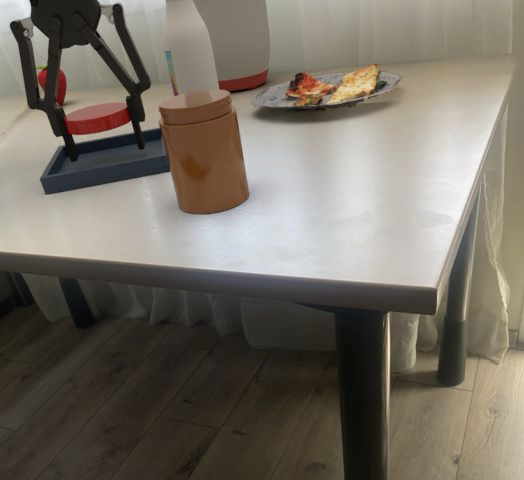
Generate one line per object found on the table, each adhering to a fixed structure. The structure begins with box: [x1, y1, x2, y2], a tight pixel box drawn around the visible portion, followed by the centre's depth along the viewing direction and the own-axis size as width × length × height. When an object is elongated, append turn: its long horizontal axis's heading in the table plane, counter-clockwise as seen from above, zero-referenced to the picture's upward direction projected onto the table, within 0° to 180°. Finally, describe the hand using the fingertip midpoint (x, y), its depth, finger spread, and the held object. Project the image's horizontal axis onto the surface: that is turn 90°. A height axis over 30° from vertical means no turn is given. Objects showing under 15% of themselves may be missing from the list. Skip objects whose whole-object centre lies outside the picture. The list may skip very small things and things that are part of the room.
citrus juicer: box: [193, 0, 271, 92], centre depth 103 cm, size 16×17×20 cm
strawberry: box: [36, 55, 68, 106], centre depth 116 cm, size 6×8×10 cm
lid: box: [63, 101, 131, 136], centre depth 72 cm, size 9×9×2 cm
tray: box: [39, 127, 170, 195], centre depth 75 cm, size 17×16×2 cm
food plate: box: [250, 63, 404, 113], centre depth 87 cm, size 25×23×4 cm
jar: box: [158, 90, 250, 215], centre depth 56 cm, size 8×8×10 cm
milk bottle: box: [162, 0, 219, 97], centre depth 86 cm, size 8×8×20 cm
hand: (108, 152), depth 75 cm, fingers closed on lid, 9 cm apart
